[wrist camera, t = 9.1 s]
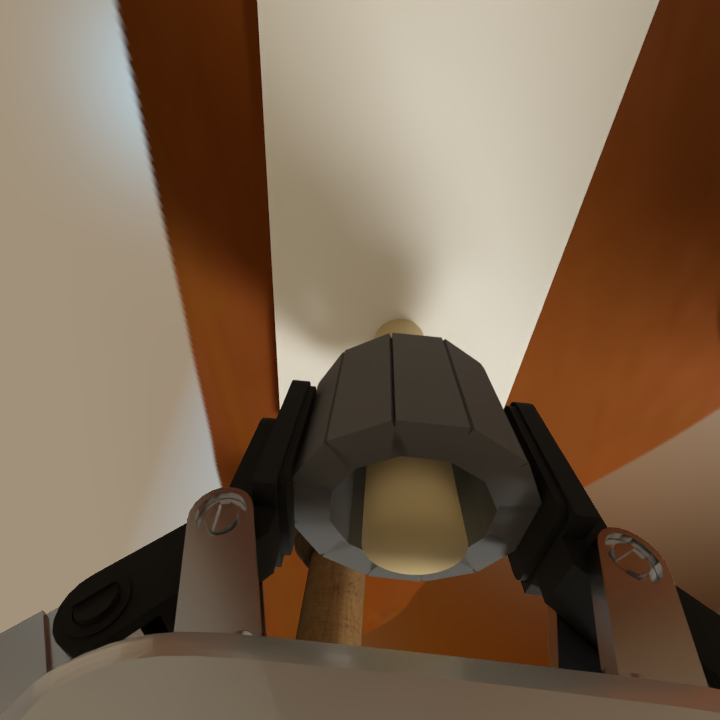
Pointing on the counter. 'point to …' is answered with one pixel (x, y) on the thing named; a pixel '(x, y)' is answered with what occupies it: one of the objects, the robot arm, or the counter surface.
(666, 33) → the counter surface
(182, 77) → the counter surface
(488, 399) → the ring
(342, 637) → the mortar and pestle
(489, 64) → the post board
